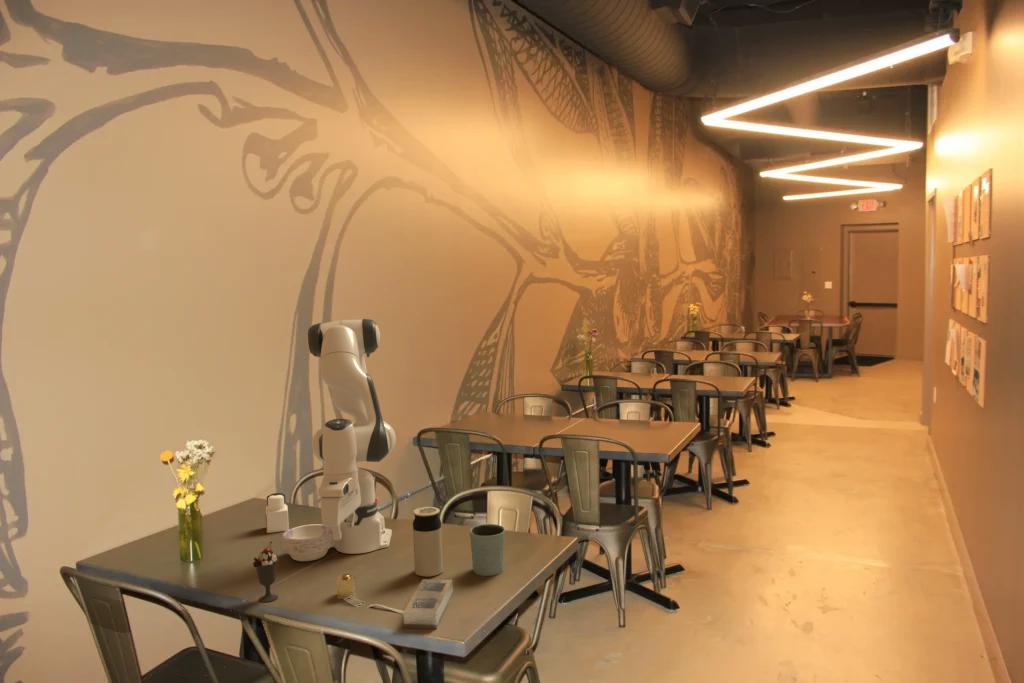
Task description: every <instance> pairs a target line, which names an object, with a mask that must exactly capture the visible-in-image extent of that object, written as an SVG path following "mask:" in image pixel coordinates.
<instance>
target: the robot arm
mask: <svg viewBox="0 0 1024 683" xmlns="http://www.w3.org/2000/svg"><path fill="white" fill-rule="evenodd" d="M307 330H308V331H307V335H306V346H307V348H308V350H309V353H310V354H312V355H313V356H314V357H316V358H320V371H321V372H320V373H321V374H320V375H321V378H322V380H323V381H324V383H325V384H326V385H327V386H328V387H329V388H331V389H332V398H333V399H332V400H333V401H332V402H333V404H334V407H335V408H336V409H337V410H339V411H340V412H341V413H344V414H347V415H350V416H352V418H353V419H354V422H355V423H354V422H353V421H352V420H349V419H346V418H334V419H330V420H328V421H326V422H324V425H323V428H320V429H318V430H316V432H315V433H314V435H313V437H312V440H311V451H312V452H313V454H314V456H315V457H316V458H317V460H319V461H320V462H322V463H323V464H324V465H323V466H324V468H323V478H322V482H321V484H320V486H319V488H318V491H317V492H318V493H317V494H318V497H319V498H321V499H320V515H321V521H322V523H321V524H323V525H324V527H331V530H332V533H333V539H334V545H333V546H332V547H331V548H333V549H336V551H338V552H340V553H342V554H353V555H355V554H366V553H369V552H373V551H377V550H379V549H385V548H388V547H389V546H390V542H391V538H392V534H393V530H392V529H391V528H387V527H386V526H385V525H386V524H385V517H384V516H383V515H382V514H381V513H380V512H379V509H378V506H379V505H378V503H379V497H376V492H375V488H376V487H375V478H374V476H373V475H372V473H371V472H369V471H367V470H365V469H362V468H359V467H358V464H357V463H358V462H360V463H361V462H368V463H369V462H371V463H372V462H374V463H377V462H378V463H380V462H381V461H382V460H383V459H385V457H386V456H388V454H390V453H391V452H392V451H393V450H394V449H395V446H396V443H397V435H396V432H395V430H394V428H393V426H392V425H390V424H389V423H387V422H386V421H384V420H383V415H382V411H381V408H380V407H381V406H380V403H379V399H378V398H379V397H378V395H377V391H376V390H377V389H376V387H375V384H374V381H373V378H372V377H371V375H370V374H368V369H367V365H366V359H365V356H364V354H365V355H366V357H367V359H368V358H370V356H371V354H373V353H375V352H376V350H377V349H378V348H379V345H380V342H381V331H380V329H379V326H378V324H377V322H376V321H375V320H373V319H369V318H368V319H367V318H363V319H341V320H334V321H329V322H324V323H321V322H319V323H314V324H312V325H311V326H310V327H309V328H308V329H307Z"/></svg>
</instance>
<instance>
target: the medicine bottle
mask: <svg viewBox="0 0 1024 683" xmlns="http://www.w3.org/2000/svg"><path fill="white" fill-rule="evenodd" d="M288 509H289V508H288V505H287V504H286V495H285V494H284V493H281V492H274V493H270V494H269V495H267V496H266V507H265V522H266V524H265V525H266V533H267V534H270V533H271V534H272V533H279V532H286V531H287V530H289V529H290V527H289V510H288Z"/></svg>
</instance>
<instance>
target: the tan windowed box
mask: <svg viewBox="0 0 1024 683" xmlns="http://www.w3.org/2000/svg"><path fill="white" fill-rule="evenodd" d="M453 596H454V583H453V579H432V578H431V579H429V578H428V579H427V578H425V579H424V578H423V579H422V580H421V582H420V583H419V585H418V587H417V588H416V590H415V592H414V593H413V595H412V597H411V599H410V600H409V601H408V604H407V605H406V607H405V609H404V610H403V611H404V612H403V613H404V614H403V628H404V629H428V630H429V629H431V630H436V629H438V627H439V625H440V623H441V621H442V619H443V616H444V614H445V612H446V610H447V608H448V607H449V604H450V602H451V600H452V599H453Z"/></svg>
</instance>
